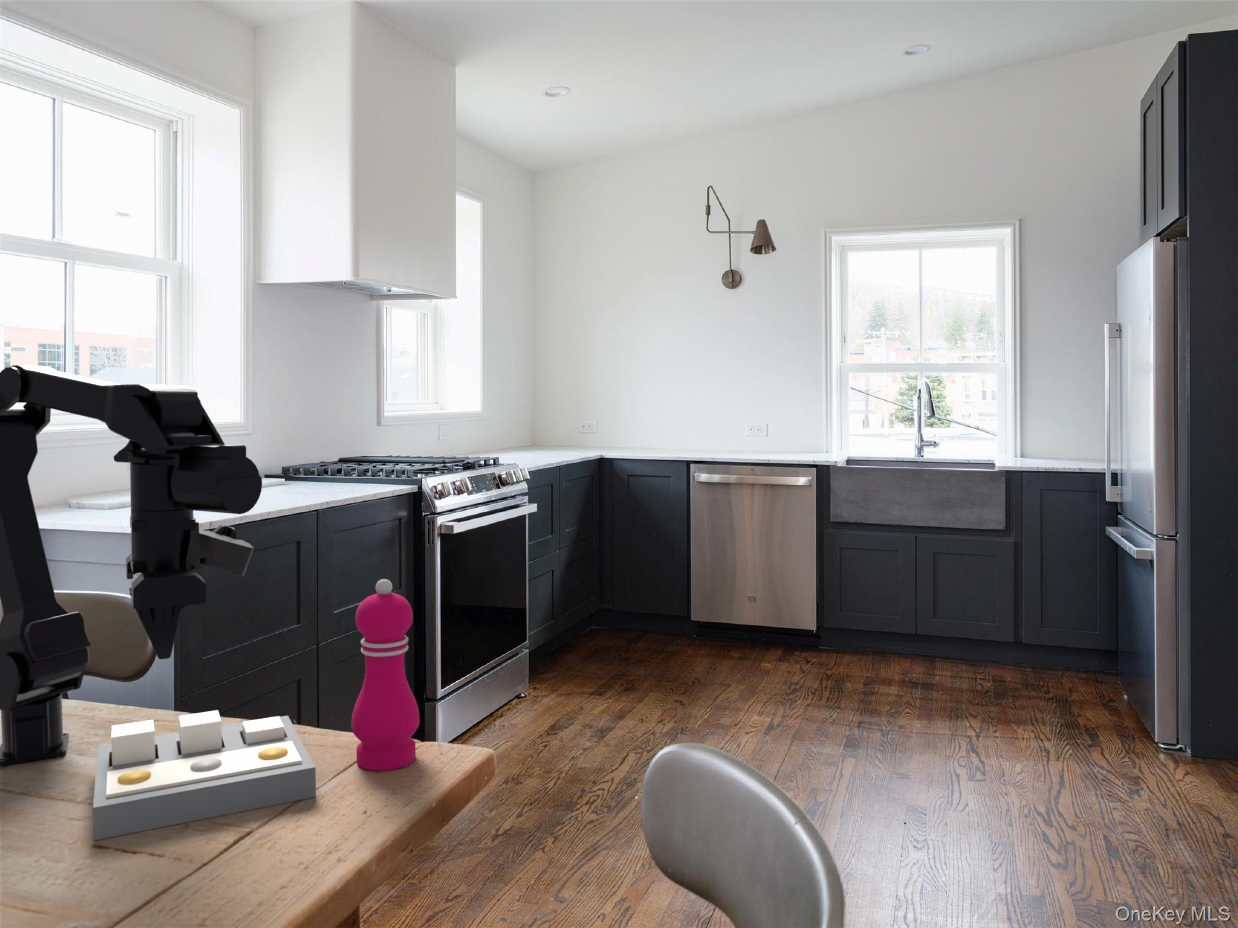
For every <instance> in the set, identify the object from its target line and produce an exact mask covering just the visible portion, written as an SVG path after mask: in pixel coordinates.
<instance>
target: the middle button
mask: <svg viewBox="0 0 1238 928" xmlns="http://www.w3.org/2000/svg"><path fill="white" fill-rule="evenodd" d="M221 726H222V719H221V715H220V712H219V710H218V709H216V710H210V711H203V712H197V713H190V714H182V715H179V716H178V731H179V739H180V750H181V755H183V754H189V753H195V752H202V751H208V750H214V749H220V748H222V731H221Z"/></svg>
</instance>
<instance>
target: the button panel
mask: <svg viewBox="0 0 1238 928" xmlns="http://www.w3.org/2000/svg"><path fill="white" fill-rule="evenodd" d="M279 717H280V719H281V721H282V723H283V725H284V738H280V739H274V740H268V741H262V742H256V743H250V744H244V743H243V734H242V722H237V723H231V724H224V725H221V731H222V748H220V749H214V750H208V751H202V752H195V753H189V754H183V755H181V750H180V739H179V732H178V731H177V732H173V733H166V734H160V735H159V734H158V735H155V759H153V760H147V761H141V762H135V763H129V764H123V765H117V766H112V742H108V743H101V744H97V748H96V751H97V752H96V762H95V763H96V764H95V775H94V776H95V777H94V787H93V788H94V790H93V802H92V803H93V804H92V816H93V817H92V820H93V841H95V842H96V841H99V840H103V839H109V838H114V837H119V836H125V835H129V834H135V833H139V832H145V831H150V830H155V829H160V828H165V827H169V826H173V825H174V826H175V825H179V824H185V823H191V822H195V821H199V820H200V821H201V820H205V819H210V818H215V817H220V816H225V815H230V814H236V813H240V812H246V811H251V810H256V809H261V808H266V807H271V806H275V805H281V804H286V803H292V802H295V801H302V800H306V799H310V798H311V799H312V798H316V797H317V788H316V787H317V785H316V783H317V782H316V780H317V779H316V778H317V777H316V773H317V772H316V766H315V764H314V762H313V760H312V759H311V756H310V754H309V753H308V751H307V749H306V747H305V745H304V743H303V741H302V739H301V737H300V735H299V733H298V732H297V730H296V728H295V726H294V725H293V723H292V721H291V719H290V717H289V715H283V716H279Z"/></svg>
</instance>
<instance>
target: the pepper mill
mask: <svg viewBox="0 0 1238 928" xmlns="http://www.w3.org/2000/svg"><path fill="white" fill-rule="evenodd" d="M375 591H376V593H374V594H371V595H368V596H367V597H365V598H364V599H363V600H362V601H361V602H360V604H359V605H358V606H357V609H356V613H355V619H354V620H355V625H356V628H357V629H358V632H360V633H361V634H362V636H363V638H361V640H360V645H361V648H360V653H362V654H363V655H364V659H365V673H364V675H365V676H364V680H363V685H362V687H361V690H360V692H359V694H358V697H357V699H356V702H355V704H354V708H353V711H352V715H351V725H350V726H351V731H352V734H354V736H355V738H356V739H358V740H359V743H358V744H357V746H356V750H355V751H356V765H358V767H360V768H361V769H364V770H368V771H374V772H385V771H394V770H397V769H401V768H404V767H406V766H409V765H410V764H412V763H413V762H414V761H415V759H416V741H415V739H413V738H412V736H413V735H414V734H415V732H416V731H417V730H418V727H419V725H420V722H421V720H420V710H419V707H418V703H417V700H416V698H415V696H414V693H413V691H412V689H411V687H410V683H409V682H408V679H407V675H406V671H405V670H406V669H405V655H406V654H405V653H406V652H407V651H408V650H409V645H408V642H409V637H408V636H407V635H406V633H407V632H408V630H409V629H410V628H411V626H412V624H413V620H414V618H413V617H414V614H413V613H414V612H413V609H412V606H411V604H410V603H409V601H408V600H407V599H406V598H405V597H404V596H402V595H400V594H398V593H394V592H392V591H393V584H392V582H391V581H390V580H389V579H387V578H384V579H380V580H379V579H378V581H377V582H376V584H375Z"/></svg>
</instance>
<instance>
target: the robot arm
mask: <svg viewBox="0 0 1238 928" xmlns="http://www.w3.org/2000/svg"><path fill="white" fill-rule="evenodd" d="M198 395H199V393H198V391H197V390H195V389H194V388H193V387H191V386H187V385H174V384H173V385H170V384H167V385H166V384H138V383H136V384H133V383H131V384H129V383H128V384H120V383H115V382H111V381H106V380H102V379H97V378H94V377H93V378H92V377H88V376H83V375H78V374H74V373H68V372H64V371H61V370H60V371H59V370H56V369H55V368H52V367H51V366H46V365H45V366H44V365H27V364H26V365H24V364H22V365H21V364H20V365H19V364H14V365H11V366H7V367H5V368H3V369H1V370H0V602H1V606H2V607H1V608H2V613H3V616H2V618H1V619H0V720H1V722H0V723H1V744H0V766H3V765H10V764H16V763H22V762H29V761H35V760H42V759H49V758H55V757H60V756H65V755H66V754H67V751H68V745H69V738H70V733H69V732H64V725H63V724H64V723H63V721H64V720H63V719H64V718H63V694H64V693H67V692H70V691H73V690H74V691H76V690H79V689H81V687H82V682H83V680H84V679H83V678H84V674H85V671H86V667H87V664H88V663H89V654H90V653H89V647H90V646H91V645H92V644H91V641H90V640H89V639H88V637H87V634H86V629H85V621H84V618H83V615H82V614H81V613H80V611H75V612H69V611H67V609H65V607H63V606H62V605H61V604H60V602H58V600H57V598H56V593H55V589H54V585H53V581H52V576H51V573H50V569H49V563H48V560H47V555H46V551H45V547H44V542H43V537H42V533H41V530H40V525H39V521H38V518H37V517H38V516H37V513H36V512H37V511H36V508H35V504H34V499H33V495H32V491H31V486H30V483H29V474H30V471H31V469H32V467H33V465H34V462H35V460H36V457H37V455H38V453H39V452H38V450H39V448H38V439H37V436H38V435H39V434H40V433H41V432H42V431H43V430H44V429H45V428H46V427H47V426H48V425H49V424H50V422H51V414H52V411H51V410H55V411H59V412H60V411H61V412H64V413H68V414H69V413H70V414H71V415H77V416H81V417H86V418H88V419H95V420H97V421H99V422H100V421H101V422H102V423H105V425H106V426H107V428H108V429H109V431H110V432H112V433H114V434H117V435H119V436H121V437H123V438H125V439H127V440H128V442H127V443H126V445H125V446H124V447H122V448H121V449H120V450H118V451H117V453H115V454H114V456H113V460H114V462H116V463H125V464H126V463H127V464H129V476H130V477H129V481H130V483H129V484H130V516H129V527H130V540H131V541H130V544H131V545H130V546H131V551H130V554H129V555H128V556H126V558H125V576H126V580H132V579H134V576H135V579H134V580H132V581H131V587H130V588H129V589H128V591H129V595H130V600H131V604H132V609H134V610H135V612H136V613H137V615H138V619H139V620H140V622H141V624H142V627H143V629H144V631H145V633H146V635H147V637H148V639H149V641H150V643H151V646H152V648H153V650H154V653H156V654H155V655H156V656H157V658H158V660H168V659H170V658H171V656H172V651H173V648H174V644H175V639H176V634H177V631H178V627H179V623H180V619H181V615H182V611H183V610H185V608H186V607H187V606H194V605H202V604H205V603H207V583H206V581H205V580H204V578H203V577H202V576H201V575H200V574H198V573H197V572H196V571H199V570H201V564H202V565H205V566H208V567H212V568H215V569H220V570H224V571H227V572H229V573H230V574H232V575H234V576H239V577H243V576H244V577H245V573H246V570H247V568H248V565H249V562H250V559H251V558H252V555H253V552H254V550H255V548H254V547H253V545H252V544H250V543H249V542H247V541H245V540H243V539H238V537H237V536H238V535H237V529H235V528H234V527H232V526H229V525H225V524H222V523H220V524H219V525H218V526H217V527H216V528H214V529H213V530H212V531H211V530H204V529H200V522H199V521H198V520H197V519H196V517H195V516H194V511H195V512H197V511H198V512H208V513H209V512H210V513H218V514H219V513H220V514H234V515H243V514H246V513H248V512H249V511H250V510H253V509H254V507H255V506H256V505H257V503H258V502H259V499H260V496H261V493H262V490H263V489H262V488H263V478H262V476H261V475H260V471H259V469H258V467H257V465H256V464H255V462H254V461H253V460H252V459H250V458H248V457H247V446H246V445H245V444H225V442H224V441H223V440H224V439H222V437H221V435H220V433H219V432H218V430H217V428H216V427H215V425H214V423H213V421H212V419H211V418H210V416H209V414H208V413H207V410H206V409H205V408H204V406H203V404H202V403H201V400H200V398H199V396H198ZM17 403H21V404H23V403H25V404H24V405H23V406H22V405H20V404H17Z"/></svg>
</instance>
